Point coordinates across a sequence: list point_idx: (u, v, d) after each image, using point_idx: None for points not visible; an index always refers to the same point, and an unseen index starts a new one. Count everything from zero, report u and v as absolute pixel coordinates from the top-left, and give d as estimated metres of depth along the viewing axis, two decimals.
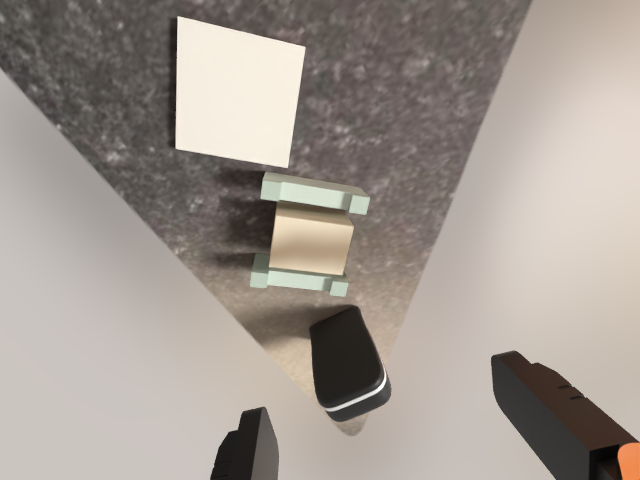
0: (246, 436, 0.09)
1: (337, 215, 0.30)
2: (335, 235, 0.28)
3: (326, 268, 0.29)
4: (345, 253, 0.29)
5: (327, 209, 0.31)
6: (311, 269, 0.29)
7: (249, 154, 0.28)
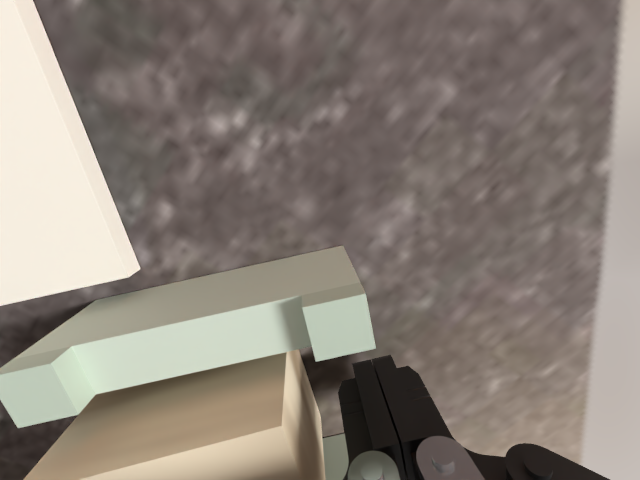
0: (366, 381, 0.10)
1: (255, 363, 0.10)
2: (238, 473, 0.08)
3: None
4: None
5: None
6: None
7: (18, 284, 0.10)
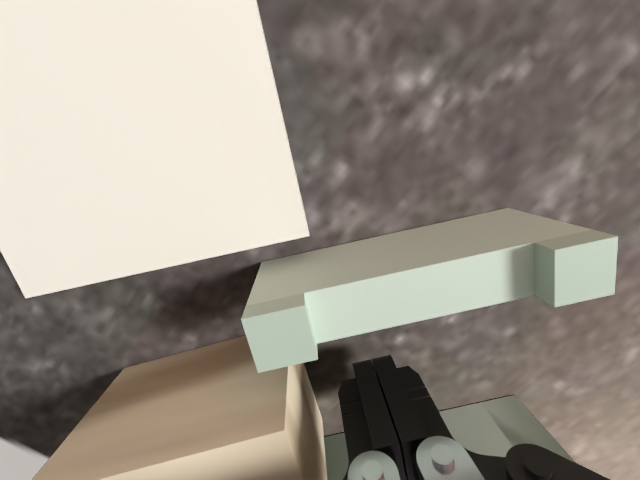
0: (366, 381, 0.10)
1: None
2: (241, 477, 0.08)
3: None
4: None
5: (243, 344, 0.12)
6: None
7: (202, 242, 0.10)
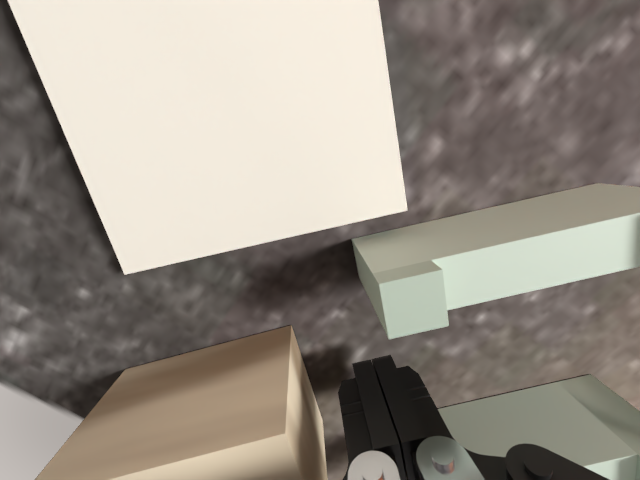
0: (366, 381, 0.10)
1: (258, 369, 0.10)
2: None
3: None
4: None
5: (244, 346, 0.12)
6: None
7: (301, 216, 0.10)
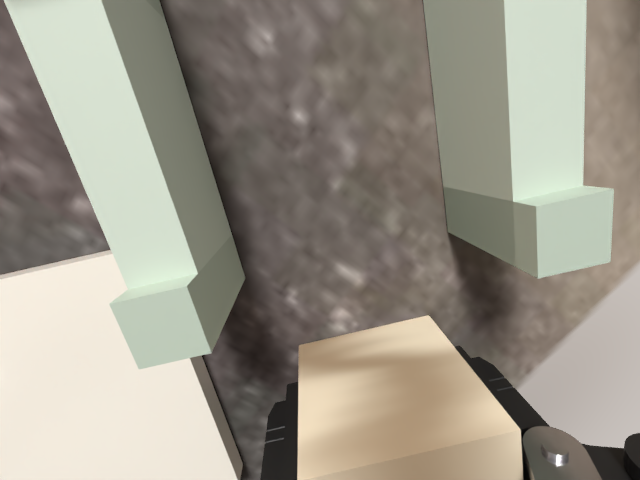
0: (295, 404, 0.10)
1: None
2: None
3: None
4: (420, 460, 0.07)
5: None
6: None
7: None
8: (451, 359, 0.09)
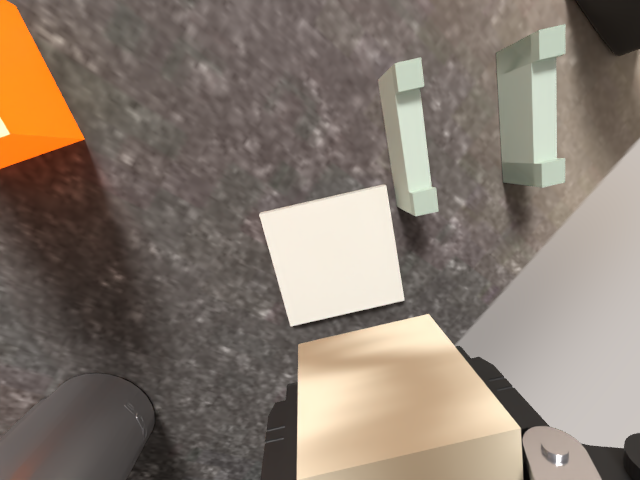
0: (295, 404, 0.10)
1: None
2: None
3: None
4: (419, 458, 0.07)
5: None
6: None
7: (385, 231, 0.25)
8: (451, 358, 0.09)
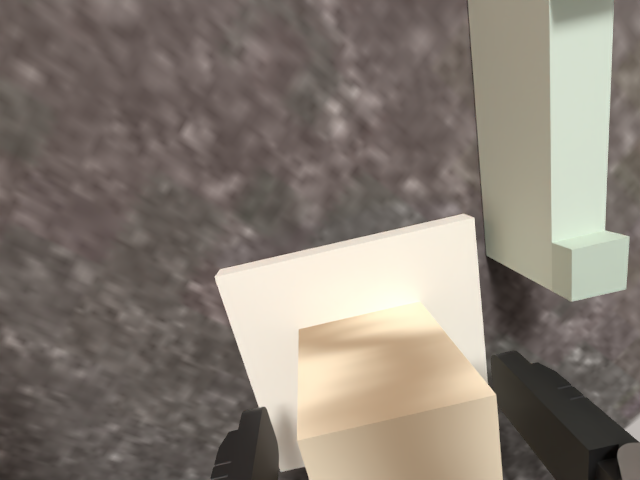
0: (246, 436, 0.09)
1: None
2: (351, 474, 0.08)
3: (480, 450, 0.08)
4: (406, 421, 0.08)
5: None
6: None
7: (466, 305, 0.12)
8: (438, 338, 0.10)
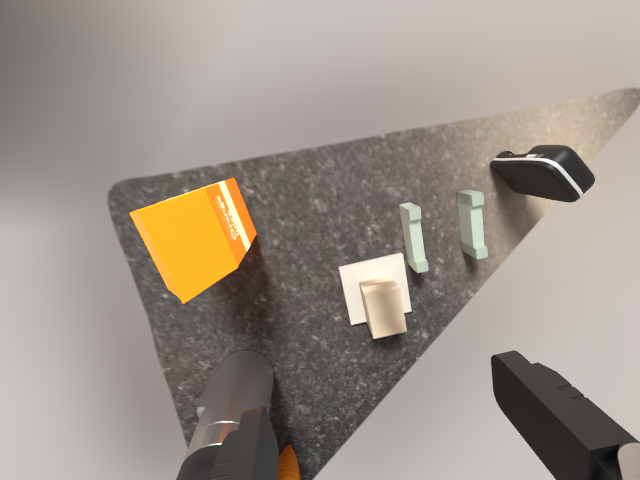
0: (246, 436, 0.09)
1: (362, 294, 0.46)
2: (374, 304, 0.43)
3: (398, 299, 0.44)
4: (384, 293, 0.43)
5: (361, 294, 0.48)
6: (401, 308, 0.44)
7: (402, 276, 0.48)
8: (392, 282, 0.45)
